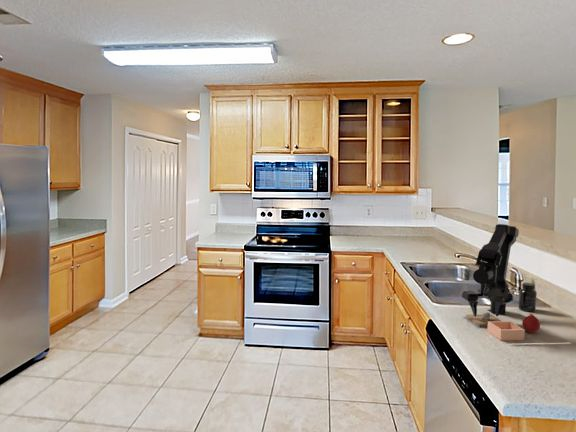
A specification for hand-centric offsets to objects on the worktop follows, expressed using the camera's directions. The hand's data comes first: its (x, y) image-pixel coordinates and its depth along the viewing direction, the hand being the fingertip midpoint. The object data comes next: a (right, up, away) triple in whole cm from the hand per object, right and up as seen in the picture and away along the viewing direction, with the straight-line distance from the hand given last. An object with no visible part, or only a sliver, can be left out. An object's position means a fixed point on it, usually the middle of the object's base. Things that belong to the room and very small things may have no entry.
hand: (486, 316), depth 171 cm
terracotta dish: (+1, -5, -14) cm, 14 cm away
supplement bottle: (+27, -2, +18) cm, 32 cm away
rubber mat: (0, -3, 0) cm, 3 cm away
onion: (+13, -5, -10) cm, 17 cm away
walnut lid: (0, -3, 0) cm, 3 cm away
